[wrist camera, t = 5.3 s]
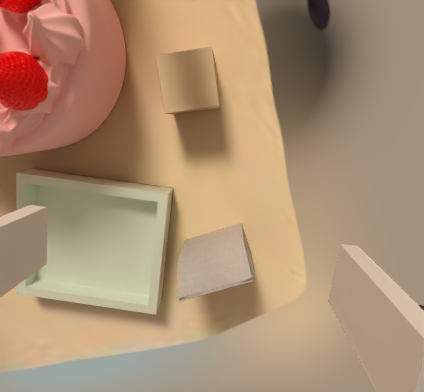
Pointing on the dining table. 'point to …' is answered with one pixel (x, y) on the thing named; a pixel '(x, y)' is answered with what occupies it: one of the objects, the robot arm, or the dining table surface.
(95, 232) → the tray
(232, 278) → the tea bag
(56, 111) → the cake
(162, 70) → the oak block
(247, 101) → the dining table surface
